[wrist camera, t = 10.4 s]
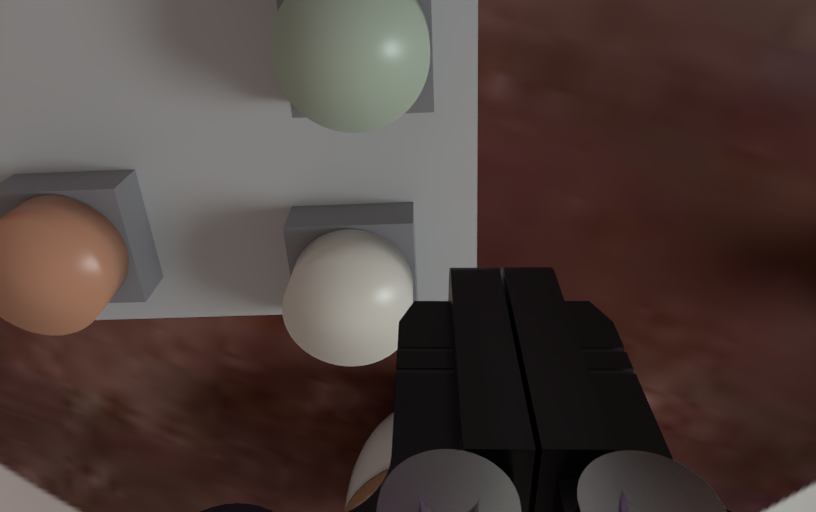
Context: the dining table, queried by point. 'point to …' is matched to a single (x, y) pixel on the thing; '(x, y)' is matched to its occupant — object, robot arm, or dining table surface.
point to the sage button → (351, 60)
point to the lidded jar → (371, 464)
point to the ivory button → (348, 297)
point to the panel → (228, 149)
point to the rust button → (58, 264)
